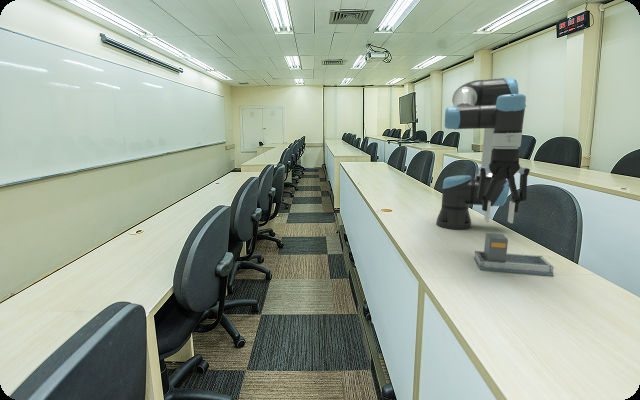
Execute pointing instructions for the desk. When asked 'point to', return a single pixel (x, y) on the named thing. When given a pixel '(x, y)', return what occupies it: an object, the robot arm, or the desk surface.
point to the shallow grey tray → (516, 264)
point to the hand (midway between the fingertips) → (498, 221)
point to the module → (495, 247)
